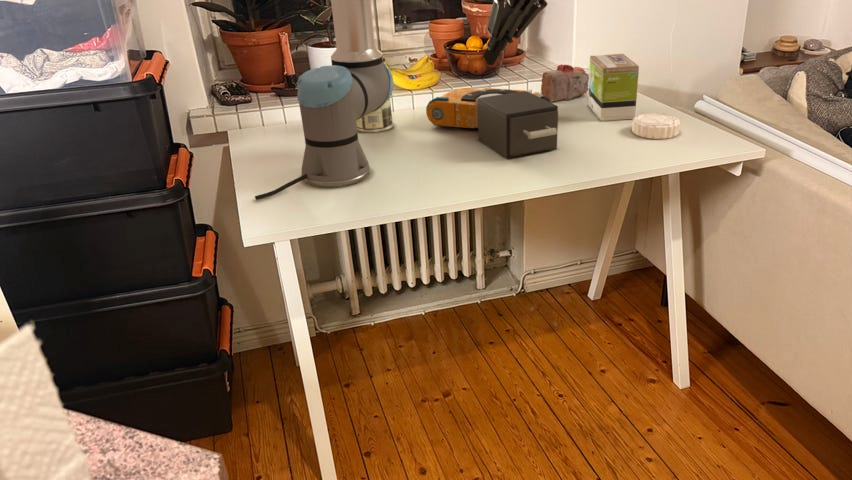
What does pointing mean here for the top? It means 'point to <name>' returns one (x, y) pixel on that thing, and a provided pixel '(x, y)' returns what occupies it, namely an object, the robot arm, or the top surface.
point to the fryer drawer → (533, 132)
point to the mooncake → (656, 126)
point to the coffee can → (376, 120)
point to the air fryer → (506, 118)
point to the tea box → (613, 87)
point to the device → (462, 106)
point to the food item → (564, 83)
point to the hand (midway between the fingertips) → (488, 60)
